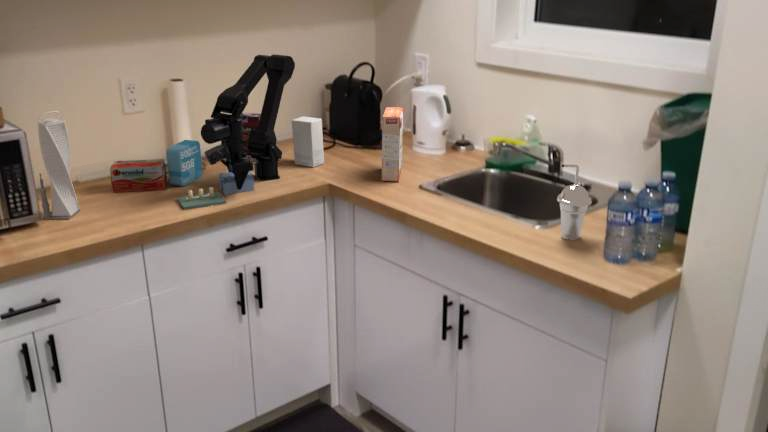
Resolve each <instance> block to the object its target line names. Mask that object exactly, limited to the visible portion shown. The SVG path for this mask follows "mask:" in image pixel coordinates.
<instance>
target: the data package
mask: <svg viewBox="0 0 768 432" xmlns="http://www.w3.org/2000/svg"><path fill="white" fill-rule="evenodd" d="M166 162H167V171H168V181H169V184H170V185H171V186H178V187H179V186H180V187H186V186H187V185H189V184H191V183H193V182H194V181H196V180H197V181H198V179H200V178H201V177H202V176H203V164H202V163H203V162H202V151H201V144H200V142H199V140H190V139H189V140H188V139H184V140H182V141H179V142H177V143H175V144H173V145H171V146H169V147H167V149H166Z"/></svg>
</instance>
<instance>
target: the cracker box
mask: <svg viewBox="0 0 768 432" xmlns="http://www.w3.org/2000/svg"><path fill="white" fill-rule="evenodd" d="M381 122H382V125H381V126H382V128H381V129H382V131H381V136H382V137H381V181H382V182H399V181H400V176H401V173H402V166H403V141H404V140H403V139H404V137H403V136H404V133H403V132H404V107H398V106H397V107H396V106H395V107H393V106H392V107H391V106H387V107H385V110H384V113H383V115H382V121H381Z"/></svg>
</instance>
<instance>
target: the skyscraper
mask: <svg viewBox="0 0 768 432" xmlns="http://www.w3.org/2000/svg"><path fill="white" fill-rule="evenodd" d="M52 113H56V117H55V118H53V117H52V118H51V117H50V118H46V119H44V121H41V120H42V119H43V117H45V116H47V115H49V114H52ZM59 116H60V111H59V110H51V111H50V110H49V111H47V112H45V113H43V114H41V115H40V117H39V118H38V120H37V121H36V122H37V132H38V141H39V147H40V148H39V150H40V154H41V157H42V158H41V159H42V161H43V165H44V168H45V171H46V173H47V175H48V176H47V177H48V178H49V181H50V184H49V185H50V186H49V187H50V200H51V201H50V203H51V204H49V200H48V196H47V189H46V188H45V185H44V179H43V178H42V173H39V174H38V175H39V184H40V189H39V192H40V196H41V202H42V203H41V207H42V210H43V217H42V220H46V221H48V220H51V221H52V220H54V221H55V220H56V221H57V220H58V221H69V220H71V219H72V218H73V217H74V216H75V215H77V214H78V213H79V212H80V211H81V209H80V205H79V202H78V198H77V195H76V191H75V188H74V185H73V182H72V178H71V176H70V174H71V165H72V156H71V155H72V153H71V144H70V138H69V133H68V128H67V124H66V121H65V120H59ZM50 205H51V211H50Z"/></svg>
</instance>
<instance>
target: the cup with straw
mask: <svg viewBox="0 0 768 432" xmlns="http://www.w3.org/2000/svg"><path fill="white" fill-rule="evenodd" d="M561 167H562V168H575V174H574V175H575V176H574V183H573V184H569V185H567V186H565V187H564V188H563V189H562V191H561V193H560V194H558V195H557V198H556V201H557V202H558V203H559V209H560V233H561V234H560V235H561V236H562V237H561V238H563V239H566V240H568V239H569V241H575V240H579V239H580V235H581V233H582V228H583V224H584V219H585V217H586V213H587V210H588V207H589V206H590V205H591V204H592V198H591V196H589V193H588V191H587V189H586V188H585V187H583V186H582V185H580V184H578V180H579V172H580V171H579V170H580V168H579V165H578V164H564V163H563V164H561Z"/></svg>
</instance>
